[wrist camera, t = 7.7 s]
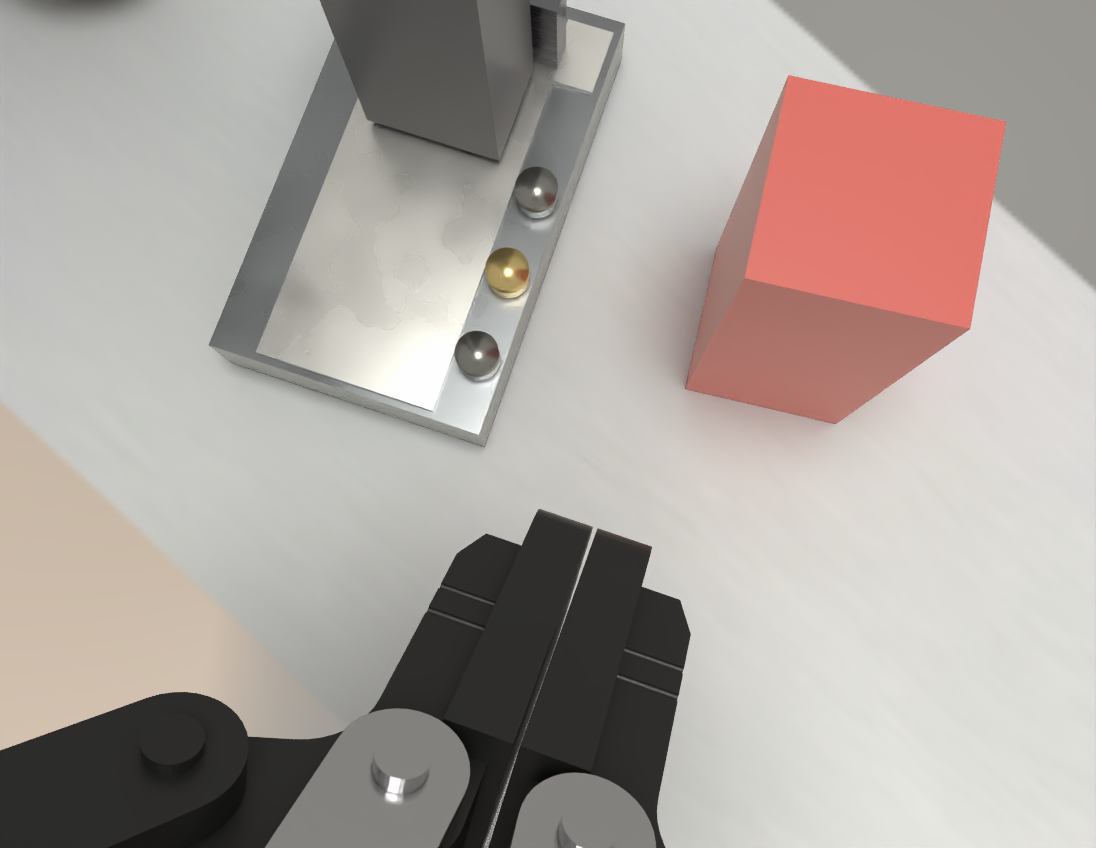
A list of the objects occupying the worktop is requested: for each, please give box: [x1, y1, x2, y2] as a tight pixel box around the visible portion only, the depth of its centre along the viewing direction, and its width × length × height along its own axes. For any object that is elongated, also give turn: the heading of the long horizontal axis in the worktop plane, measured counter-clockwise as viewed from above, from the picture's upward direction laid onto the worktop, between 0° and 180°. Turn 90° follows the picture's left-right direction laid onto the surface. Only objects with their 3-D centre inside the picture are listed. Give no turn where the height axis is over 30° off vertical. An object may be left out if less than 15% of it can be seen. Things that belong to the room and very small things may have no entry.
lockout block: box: [685, 75, 1006, 424], centre depth 25 cm, size 4×4×10 cm
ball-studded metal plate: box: [209, 0, 625, 447], centre depth 29 cm, size 13×8×5 cm, turn 161°
